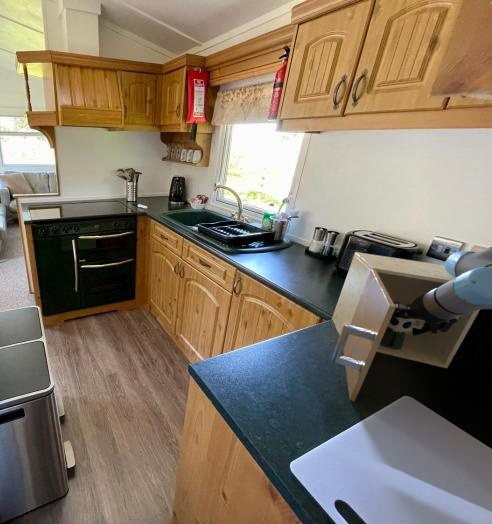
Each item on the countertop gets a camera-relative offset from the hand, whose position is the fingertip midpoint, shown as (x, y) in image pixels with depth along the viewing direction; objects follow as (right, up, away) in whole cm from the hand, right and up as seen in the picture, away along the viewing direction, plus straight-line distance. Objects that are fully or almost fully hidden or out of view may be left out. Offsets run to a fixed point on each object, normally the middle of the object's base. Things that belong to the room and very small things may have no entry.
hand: (390, 326), depth 91 cm
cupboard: (0, -5, +3) cm, 6 cm away
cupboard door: (-24, -9, -10) cm, 28 cm away
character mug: (-1, -6, 0) cm, 6 cm away
